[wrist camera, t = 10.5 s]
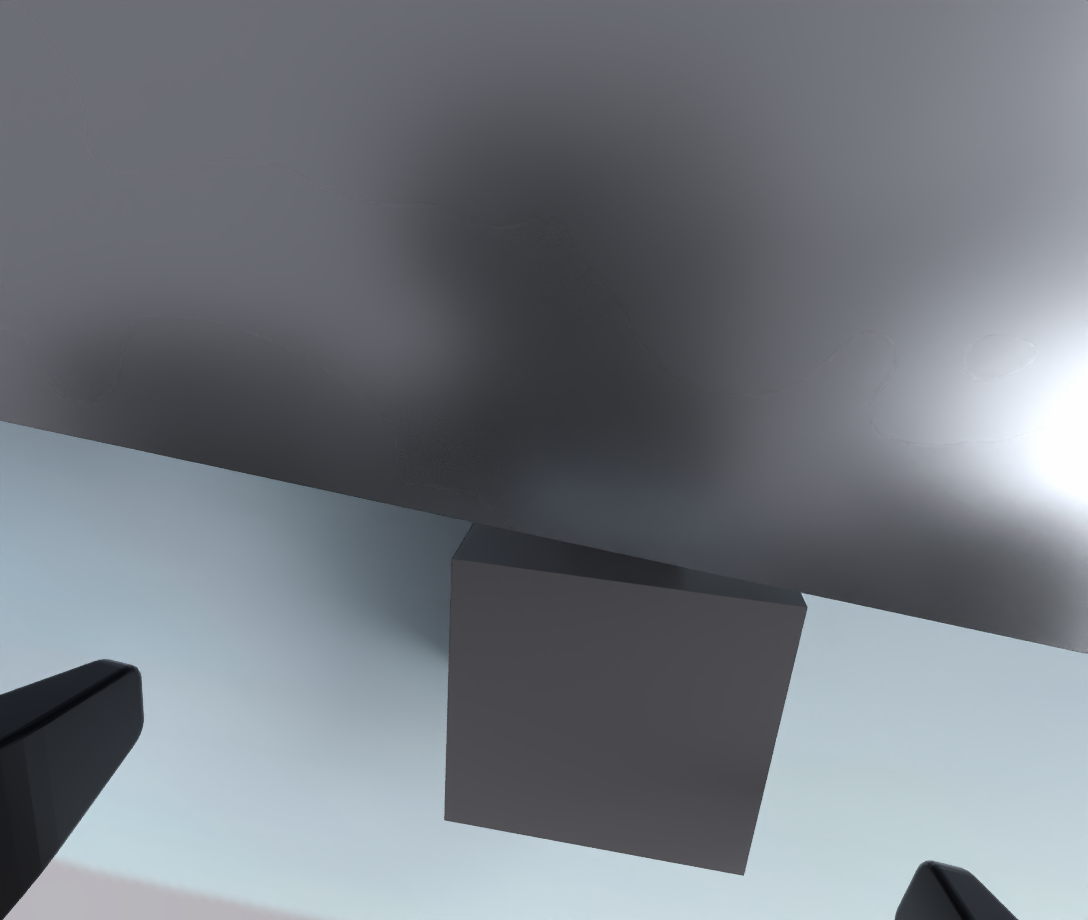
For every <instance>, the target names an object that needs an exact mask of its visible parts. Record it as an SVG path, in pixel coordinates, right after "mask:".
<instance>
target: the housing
mask: <svg viewBox="0 0 1088 920" xmlns="http://www.w3.org/2000/svg"><path fill="white" fill-rule="evenodd" d="M0 421H5V422H9V423H14V424H19V425H23V426H28V427H33V428H37V429H42V430H47V431H51V432H56V433H61V434H65V435H70V436H75V437H79V438H84V439H89V440H93V441H98V442H103V443H107V444H112V445H117V446H121V447H126V448H130V449H135V450H140V451H144V452H149V453H154V454H158V455H163V456H168V457H172V458H177V459H182V460H186V461H191V462H196V463H200V464H205V465H210V466H214V467H219V468H224V469H228V470H233V471H238V472H242V473H247V474H252V475H256V476H261V477H266V478H270V479H275V480H280V481H284V482H289V483H294V484H298V485H303V486H308V487H312V488H317V489H322V490H326V491H331V492H336V493H340V494H345V495H350V496H354V497H359V498H364V499H368V500H373V501H377V502H382V503H387V504H391V505H396V506H401V507H405V508H410V509H415V510H419V511H424V512H429V513H433V514H438V515H443V516H447V517H452V518H457V519H461V520H466V521H471V522H475V523H480V524H485V525H489V526H494V527H499V528H503V529H508V530H513V531H517V532H522V533H527V534H531V535H536V536H541V537H545V538H550V539H555V540H559V541H564V542H569V543H573V544H578V545H583V546H587V547H592V548H597V549H601V550H606V551H611V552H615V553H620V554H624V555H629V556H634V557H638V558H643V559H648V560H652V561H657V562H662V563H666V564H671V565H676V566H680V567H685V568H690V569H694V570H699V571H704V572H708V573H713V574H718V575H722V576H727V577H732V578H736V579H741V580H746V581H750V582H755V583H760V584H764V585H769V586H774V587H778V588H783V589H788V590H792V591H797V592H802V593H806V594H811V595H816V596H820V597H825V598H830V599H834V600H839V601H844V602H848V603H853V604H858V605H862V606H867V607H871V608H876V609H881V610H885V611H890V612H895V613H899V614H904V615H909V616H913V617H918V618H923V619H927V620H932V621H937V622H941V623H946V624H951V625H955V626H960V627H965V628H969V629H974V630H979V631H983V632H988V633H993V634H997V635H1002V636H1007V637H1011V638H1016V639H1021V640H1025V641H1030V642H1035V643H1039V644H1044V645H1049V646H1053V647H1058V648H1063V649H1067V650H1072V651H1077V652H1081V653H1086V654H1088V0H0Z"/></svg>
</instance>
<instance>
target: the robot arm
mask: <svg viewBox="0 0 1088 920" xmlns="http://www.w3.org/2000/svg"><path fill="white" fill-rule="evenodd" d="M143 723H144V711H143V695H142V678H141V673H140V671H139V670H138V668H137V667H135V666H133V665H130V664H126V663H122V662H118V661H113V660H109V659H102V660H97V661H94V662H91V663H88V664H85V665H83V666H80V667H77V668H74V669H71V670H69V671H66V672H63V673H60V674H57V675H55V676H52V677H49V678H46V679H43V680H41V681H38V682H35V683H32V684H29V685H27V686H24V687H21V688H18V689H15V690H13V691H10V692H7V693H4V694H1V695H0V920H3V919H4V918H5V916H6V915H7V914H8V913H9V912H10V911H11V909H12V908H13V907H14V906H15V905H16V903H17V902H18V901H19V899H21V897H22V896H23V895H24V894H25V893H26V891H27V890H28V889H29V888H30V887H31V885H32V884H33V883H34V882H35V880H36V879H37V878H38V877H39V876H40V874H41V873H42V872H43V870H44V869H45V868H46V867H47V865H48V864H49V863H50V861H51V860H52V859H53V857H54V856H55V855H56V853H57V852H58V851H59V849H60V848H61V847H62V845H63V844H64V842H65V841H66V840H67V838H68V837H69V835H70V834H71V833H72V831H73V830H74V829H75V827H76V826H77V824H78V823H79V822H80V820H81V819H82V817H83V816H84V815H85V813H86V812H87V810H88V809H89V808H90V806H91V805H92V803H93V802H94V801H95V799H96V798H97V796H98V795H99V794H100V792H101V791H102V789H103V788H104V787H105V785H106V784H107V782H108V781H109V780H110V778H111V777H112V776H113V774H114V773H115V771H116V770H117V769H118V767H119V766H120V764H121V763H122V762H123V760H124V759H125V757H126V756H127V755H128V753H129V752H130V750H131V749H132V748H133V746H134V745H135V743H136V742H137V740H138V738H139V736H140V734H141V731H142V728H143ZM895 920H1018V919H1017V918H1016V917H1015V916H1014V915H1013V914H1012V913H1011V912H1010V911H1009V910H1008V909H1007V908H1006V907H1005V906H1004V905H1003V904H1002V903H1001V902H1000V901H999V900H998V899H997V898H996V897H995V896H994V895H993V894H992V893H991V892H990V891H989V890H988V889H987V888H986V887H985V886H984V885H983V884H982V883H981V882H980V881H979V880H978V879H977V878H976V877H975V876H974V875H972V874H971V873H970V872H968V871H967V870H965V869H963V868H960V867H956V866H952V865H948V864H944V863H939V862H935V861H925V862H923V863H922V864H920V865H919V867H918V869H917V870H916V872H915V874H914V876H913V878H912V880H911V883H910V885H909V887H908V889H907V891H906V893H905V895H904V897H903V899H902V901H901V903H900V905H899V907H898V909H897V912H896V916H895Z"/></svg>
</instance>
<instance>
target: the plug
mask: <svg viewBox="0 0 1088 920" xmlns="http://www.w3.org/2000/svg"><path fill="white" fill-rule="evenodd" d="M806 611H807V606H806V603H805V601H804V599H803V597H802V595H801V592H797V591H792V590H788V589H783V588H778V587H774V586H769V585H764V584H760V583H755V582H750V581H746V580H741V579H736V578H732V577H727V576H722V575H718V574H713V573H708V572H704V571H699V570H694V569H690V568H685V567H680V566H676V565H671V564H666V563H662V562H657V561H652V560H648V559H643V558H638V557H634V556H629V555H624V554H620V553H615V552H611V551H606V550H601V549H597V548H592V547H587V546H583V545H578V544H573V543H569V542H564V541H559V540H555V539H550V538H545V537H541V536H536V535H531V534H527V533H522V532H517V531H513V530H508V529H503V528H499V527H494V526H489V525H485V524H480V523H475V522H474V523H473V525H472V527H471V528H470V530H469V531H468V533H467V535H466V536H465V538H464V540H463V541H462V543H461V544H460V546H459V548H458V549H457V551H456V553H455V554H454V556H453V557H452V564H451V600H450V636H449V672H448V708H447V744H446V780H445V816H444V820H446V821H452V822H457V823H462V824H468V825H473V826H479V827H484V828H489V829H495V830H500V831H506V832H511V833H516V834H522V835H527V836H533V837H538V838H543V839H549V840H554V841H560V842H565V843H570V844H576V845H581V846H586V847H592V848H597V849H603V850H608V851H613V852H619V853H624V854H630V855H635V856H640V857H646V858H651V859H657V860H662V861H667V862H673V863H678V864H684V865H689V866H694V867H700V868H705V869H711V870H716V871H721V872H727V873H732V874H737V875H743V876H744V872H745V868H746V864H747V860H748V855H749V851H750V847H751V843H752V839H753V834H754V830H755V826H756V822H757V818H758V813H759V809H760V805H761V801H762V796H763V792H764V788H765V784H766V780H767V775H768V771H769V767H770V763H771V759H772V754H773V750H774V746H775V742H776V738H777V733H778V729H779V725H780V721H781V716H782V712H783V708H784V704H785V700H786V695H787V691H788V687H789V683H790V679H791V674H792V670H793V666H794V662H795V657H796V653H797V649H798V645H799V641H800V636H801V632H802V628H803V624H804V620H805V615H806Z"/></svg>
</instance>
